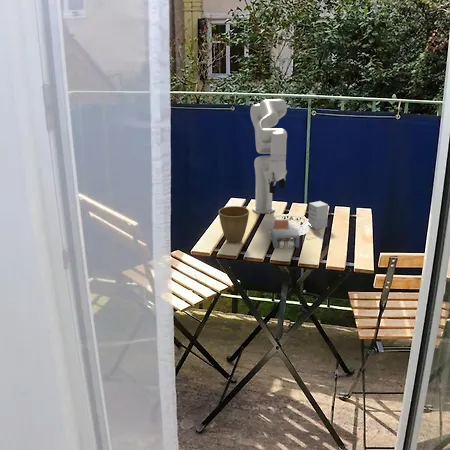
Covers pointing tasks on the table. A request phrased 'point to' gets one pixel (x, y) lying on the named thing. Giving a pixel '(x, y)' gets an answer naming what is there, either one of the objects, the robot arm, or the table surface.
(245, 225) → the plant pot
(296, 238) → the bridge
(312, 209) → the supplement box
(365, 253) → the table surface
